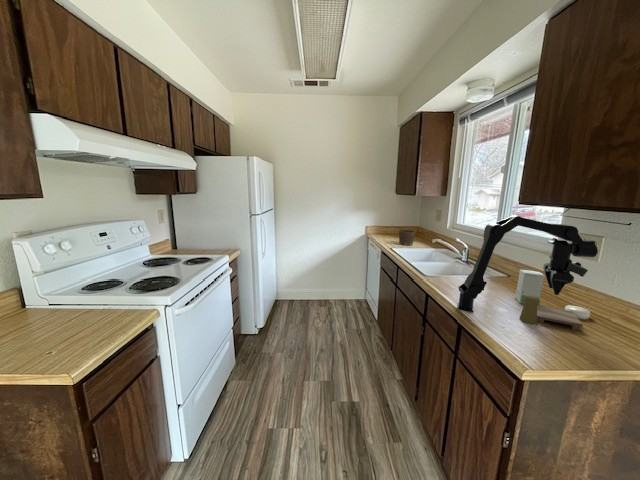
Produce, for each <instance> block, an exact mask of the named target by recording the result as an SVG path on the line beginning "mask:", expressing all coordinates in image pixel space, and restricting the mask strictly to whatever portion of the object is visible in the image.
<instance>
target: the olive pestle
mask: <svg viewBox="0 0 640 480" xmlns="http://www.w3.org/2000/svg"><path fill="white" fill-rule="evenodd" d="M524 302H525V303H523V307H522V310H521V313H520V315H519V318H518V319H519V321H521V322H523V323H525V324H529V325H537V324H538V322H537V306H538V305H540V303H541V300H539V298H537V297H535V296H530V295H528V296H525V297H524Z"/></svg>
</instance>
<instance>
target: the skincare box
mask: <svg viewBox="0 0 640 480" xmlns="http://www.w3.org/2000/svg"><path fill="white" fill-rule="evenodd" d="M518 274H519V275H518V280H517V285H516V290H515V295H514V296H515V298H514V299H515V300H516V301H517V302H518V303H519V304H525V302H524V297H525V296H528V295H530V296H535V297H537V298H539V300H540V299H541V294H542V290H543V289H542V288H543V284H544V280H545V279H544V278H545V274H543V273H542V272H540V271H537V270H536V271H534V270H530V269H529V270H527V269H519V272H518ZM540 301H541V300H540Z"/></svg>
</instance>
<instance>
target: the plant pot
mask: <svg viewBox="0 0 640 480" xmlns="http://www.w3.org/2000/svg"><path fill="white" fill-rule="evenodd" d="M416 232H417V231H415V230H412V229H411V230H410V229H398V238H399V241H398V242H399V245H400V246H405V247H412V246H413V243H414V239H415V235H416Z"/></svg>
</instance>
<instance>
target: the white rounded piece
mask: <svg viewBox="0 0 640 480" xmlns="http://www.w3.org/2000/svg"><path fill="white" fill-rule="evenodd" d="M564 307H565V308H564V310H568V311H572V312H573V313H574V314H575V315H576V317H577V318H578V319H579V320H589V319H590V315H591V311H590V310H589V309H586V308H584V307H580V306H578V305H577V306H576V305H569V304H568V305H565V306H564Z"/></svg>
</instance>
